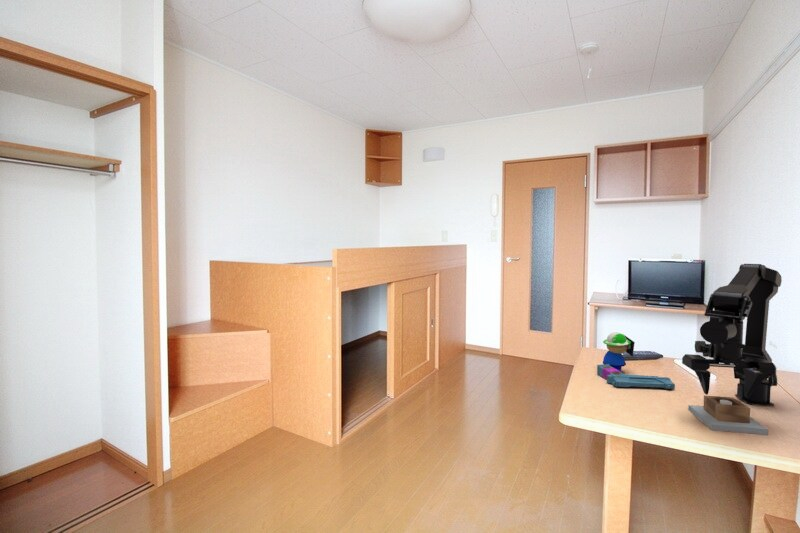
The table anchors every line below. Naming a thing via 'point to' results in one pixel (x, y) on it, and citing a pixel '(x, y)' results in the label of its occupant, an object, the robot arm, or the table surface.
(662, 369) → the table surface
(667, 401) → the table surface
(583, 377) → the table surface
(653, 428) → the table surface
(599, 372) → the toy gun
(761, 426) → the peg base
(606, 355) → the toy
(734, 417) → the collar
